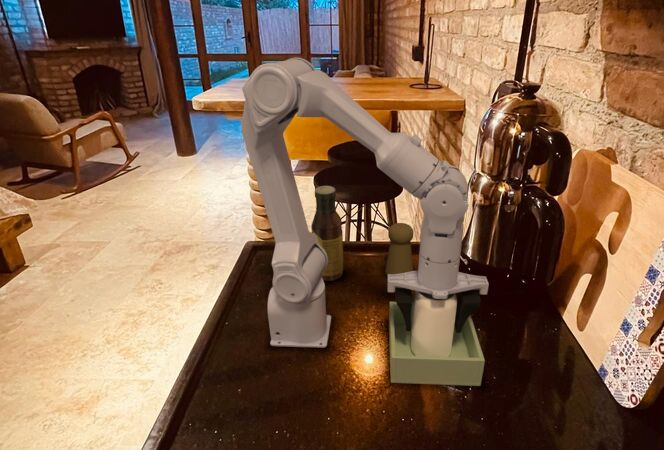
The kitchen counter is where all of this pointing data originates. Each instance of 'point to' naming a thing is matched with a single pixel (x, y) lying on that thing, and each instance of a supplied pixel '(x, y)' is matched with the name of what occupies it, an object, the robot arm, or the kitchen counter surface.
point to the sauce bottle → (329, 231)
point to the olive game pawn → (399, 249)
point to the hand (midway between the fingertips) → (432, 327)
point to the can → (432, 324)
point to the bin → (451, 370)
